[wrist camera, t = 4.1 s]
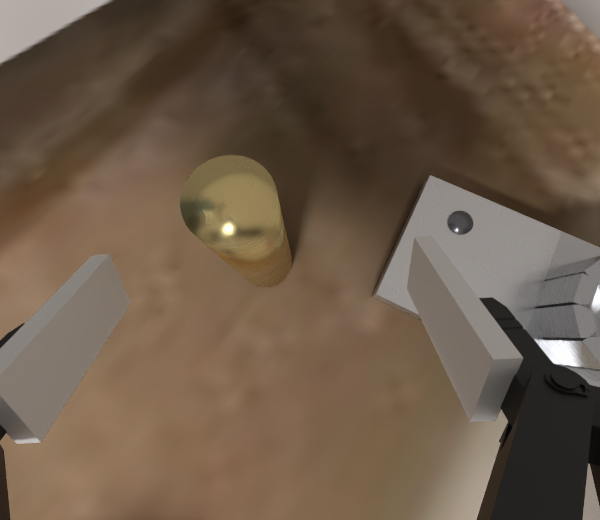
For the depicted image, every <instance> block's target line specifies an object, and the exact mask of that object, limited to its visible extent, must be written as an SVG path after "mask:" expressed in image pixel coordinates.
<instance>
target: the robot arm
mask: <svg viewBox="0 0 600 520" xmlns="http://www.w3.org/2000/svg"><path fill="white" fill-rule="evenodd" d="M407 290H408V292H409V294H410V297H411V299H412V301H413V303H414V305H415V307H416V309H417V311H418V313H419V315H420V318H421V320H422V322H423V324H424V326H425V328H426V330H427V332H428V334H429V337H430V339H431V341H432V343H433V345H434V347H435V349H436V351H437V353H438V356H439V358H440V360H441V362H442V364H443V366H444V368H445V370H446V372H447V375H448V377H449V379H450V381H451V383H452V385H453V387H454V389H455V391H456V394H457V396H458V398H459V400H460V402H461V404H462V406H463V408H464V410H465V412H466V415H467V417H468V419H469V421H470V422H483V421H496V419H497V417H498V415H499V412H500V410H501V409H502V411H503V413H504V414H505V416H506V418H507V420H508V423H507V426H506V428H505V430H504V432H503V434H502V436H501V438H500V440H499V442H501V444H500V447H499V450H498V453H497V457H496V460H495V463H494V466H493V469H492V473H491V476H490V479H489V482H488V485H487V488H486V492H485V495H484V498H483V501H482V504H481V508H480V511H479V514H478V517H477V520H582V517H583V507H584V497H585V487H586V477H587V467H588V463H589V464H590V466H591V471H592V475H593V479H594V484H595V488H596V492H597V497H598V501H599V505H600V387H597V386H593V385H589V383H588V382H587V381H586V380H585V379H584V378H583V377H581V376H580V375H579V374H578V373H576V372H574V371H572V370H570V369H568V368H566V367H564V366H560V365H557V364H554V363H553V362H552V361H551V360H550V359H549V357H548V356H547V355H546V354H545V353H544V351H543V350H542V349H541V348H540V347H539V345H538V344H537V343H536V342H535V340H534V339H533V338H532V337H531V336H530V334H529V333H528V332H527V331H526V330H525V329H523V326H522V325H521V324H520V322H519V321H518V320H516V319H515V316H514V315H513V314H512V313H511V312H510V310H509V309H508V308H507V307H506V306H505V305H503V304H502V303H500V302H499V301H497V300H496V299H494V298H493V297H490V298H478V296H477V295H476V294H475V292H474V291H473V290H472V288H471V287H470V286H469V284H468V283H467V282H466V280H465V279H464V278H463V276H462V275H461V274H460V272H459V271H458V270H457V268H456V267H455V266H454V264H453V263H452V262H451V260H450V259H449V258H448V256H447V255H446V254H445V252H444V251H443V250H442V248H441V247H440V246H439V244H438V243H437V242H436V240H435V239H434V238H433V236H421V237H414V241H413V248H412V255H411V262H410V269H409V276H408V283H407ZM130 304H131V303H130V301H129V298H128V296H127V294H126V291H125V289H124V287H123V284H122V282H121V279H120V277H119V275H118V272H117V270H116V268H115V265H114V263H113V261H112V258H111V256H110V254H105V255H92V256H91V257H90V258H89V259H88V260H87V261H86V262H85V263H84V264H83V265H82V266H81V267H80V268H79V269H78V270H77V271H76V272H75V273H74V274H73V275H72V276H71V277H70V278H69V279H68V280H67V281H66V282H65V283H64V284H63V285H62V286H61V287H60V288H59V289H58V290H57V291H56V293H55V294H54V295H53V296H52V297H51V298H50V299H49V300H48V301H47V302H46V303H45V304H44V305H43V306H42V307H41V308H40V309H39V310H38V311H37V312H36V313H35V314H34V315H33V316H32V317H31V318H30V319H29V320H28V321H27V322H26V323H23V324H21V325H20V326H18V327H17V328H15V329H14V330H12V331H11V332H9V333H8V334H7V335H6V336H5V337H4V338H2V339H1V340H0V440H1V439H2V438H3V436H4V435H5V434H6V433H7V434H8V435H9V436H10V437H11V438H12V439H13V440H14V441H15V442H16V444H18V443H39V442H42V440H43V439H44V437H45V435H46V434H47V432H48V431H49V429H50V428H51V426H52V425H53V423H54V422H55V420H56V418H57V417H58V415H59V414H60V412H61V411H62V409H63V408H64V406H65V404H66V403H67V401H68V400H69V398H70V397H71V395H72V394H73V392H74V391H75V389H76V387H77V386H78V384H79V383H80V381H81V380H82V378H83V377H84V375H85V373H86V372H87V370H88V369H89V367H90V366H91V364H92V363H93V361H94V360H95V358H96V356H97V355H98V353H99V352H100V350H101V349H102V347H103V346H104V344H105V343H106V341H107V339H108V338H109V336H110V335H111V333H112V332H113V330H114V329H115V327H116V325H117V324H118V322H119V321H120V319H121V318H122V316H123V315H124V313H125V312H126V310H127V308H128V307H129V305H130ZM0 520H10V512H9V501H8V491H7V480H6V469H5V459H4V450H3V448H2V446H1V445H0Z"/></svg>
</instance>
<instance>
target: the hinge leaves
mask: <svg viewBox="0 0 600 520" xmlns="http://www.w3.org/2000/svg"><path fill="white" fill-rule="evenodd" d="M421 236H433V238H434V239H435V240H436V242H437V243H438V244H439V246H440V247H441V248H442V250H443V251H444V252H445V254H446V255H447V256H448V258H449V259H450V260H451V262H452V263H453V264H454V266H455V267H456V268H457V270H458V271H459V272H460V274H461V275H462V276H463V278H464V279H465V280H466V282H467V283H468V284H469V286H470V287H471V288H472V290H473V291H474V292H475V294H476V295H477V296H478V298H490V297H493V298H494V299H496V300H497V301H499V302H500V303H502V304H503V305H505V306H506V307H507V308H508V309H509V310H510V312H511V313H512V314H513V315H514V316H515V319H516V320H518V321H519V322H520V324H521V325H522V326H523V329H525V330H526V331H527V332H528V333H529V334H530V336H531V337H532V338H533V339H534V340H535V342H536V343H537V344H538V345H539V347H540V348H541V349H542V350H543V351H544V353H545V354H546V355H547V356H548V357H549V359H550V360H551V361H552V362H553V363H554V364H557V365H560V366H564V367H566V368H568V369H570V370H572V371H574V372H576V373H578V374H579V375H580V376H581V377H583V378H584V379H585V380H586V381H587V382H588V383H589V385H593V386H597V387H600V247H598V246H595V245H593V244H591V243H588V242H586V241H584V240H581V239H579V238H577V237H574V236H572V235H570V234H567V233H565V232H563V231H560V230H558V229H555V228H553V227H551V226H548V225H546V224H544V223H541V222H539V221H537V220H534V219H532V218H530V217H527V216H525V215H523V214H520V213H518V212H516V211H513V210H511V209H509V208H506V207H504V206H502V205H499V204H497V203H495V202H492V201H490V200H488V199H485V198H483V197H481V196H478V195H476V194H474V193H471V192H469V191H467V190H464V189H462V188H460V187H457V186H455V185H452V184H450V183H448V182H445V181H443V180H441V179H438V178H436V177H434V176H431V175H430V176H429V177H428V179H427V180H426V181H425V182H424V184H423V185H422V187H421V190H420V192H419V194H418V196H417V198H416V201H415V203H414V205H413V207H412V209H411V212H410V214H409V216H408V218H407V220H406V222H405V225H404V227H403V229H402V231H401V233H400V236H399V238H398V240H397V242H396V244H395V247H394V249H393V251H392V253H391V255H390V258H389V260H388V262H387V264H386V266H385V268H384V271H383V273H382V275H381V277H380V279H379V282H378V284H377V286H376V288H375V290H374V293H373V295H372V297H373V298H375V299H378V300H380V301H382V302H384V303H386V304H388V305H390V306H392V307H394V308H396V309H398V310H400V311H402V312H404V313H406V314H409V315H411V316H413V317H415V318H417V319H419V320H421V318H420V315H419V313H418V311H417V309H416V307H415V305H414V303H413V301H412V299H411V297H410V294H409V292H408V290H407V283H408V276H409V269H410V262H411V255H412V248H413V241H414V237H421ZM421 321H422V320H421Z"/></svg>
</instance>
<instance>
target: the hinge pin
mask: <svg viewBox="0 0 600 520" xmlns="http://www.w3.org/2000/svg"><path fill="white" fill-rule="evenodd" d="M180 207H181V213H182V216H183V219H184V221H185V223H186V225H187V227H188V228H189V229H190V231H191V232H192V233H193V234H194V235H195V236H197V237H198V238H199V239H200V240H201V241H202V242H204V243H205V244H206V245H207V246H208V247H210V248H211V249H212V250H213V251H214V252H215V253H217V254H218V255H219V256H220V257H221V258H222V259H224V260H225V261H226V262H227V263H228V264H229V265H231V266H232V267H233V268H234V269H235V270H237V271H238V272H239V273H240V274H241V275H242V276H244V277H245V278H246V279H247V280H248V281H250V282H251V283H252V284H254V285H256V286H260V287H271V286H275V285H277V284H279V283H281V282H282V281H283V280H284V279H285V278H286V277H287V276H288V274H289V272H290V270H291V267H292V255H291V251H290V247H289V242H288V238H287V234H286V229H285V225H284V220H283V216H282V212H281V207H280V203H279V199H278V194H277V190H276V186H275V183H274V181H273V178H272V177H271V175H270V174H269V172H268V171H267V170H266V169H265V168H264V167H263V166H262V165H261V164H259V163H258V162H256V161H254V160H253V159H250V158H248V157H244V156H240V155H224V156H219V157H215V158H213V159H210V160H208V161H206V162H204V163H203V164H201V165H200V166H199V167H197V168H196V169H195V170H194V171H193V172H192V173H191V175H190V176H189V177H188V179H187V181H186V182H185V184H184V187H183V190H182V193H181V200H180Z"/></svg>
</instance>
